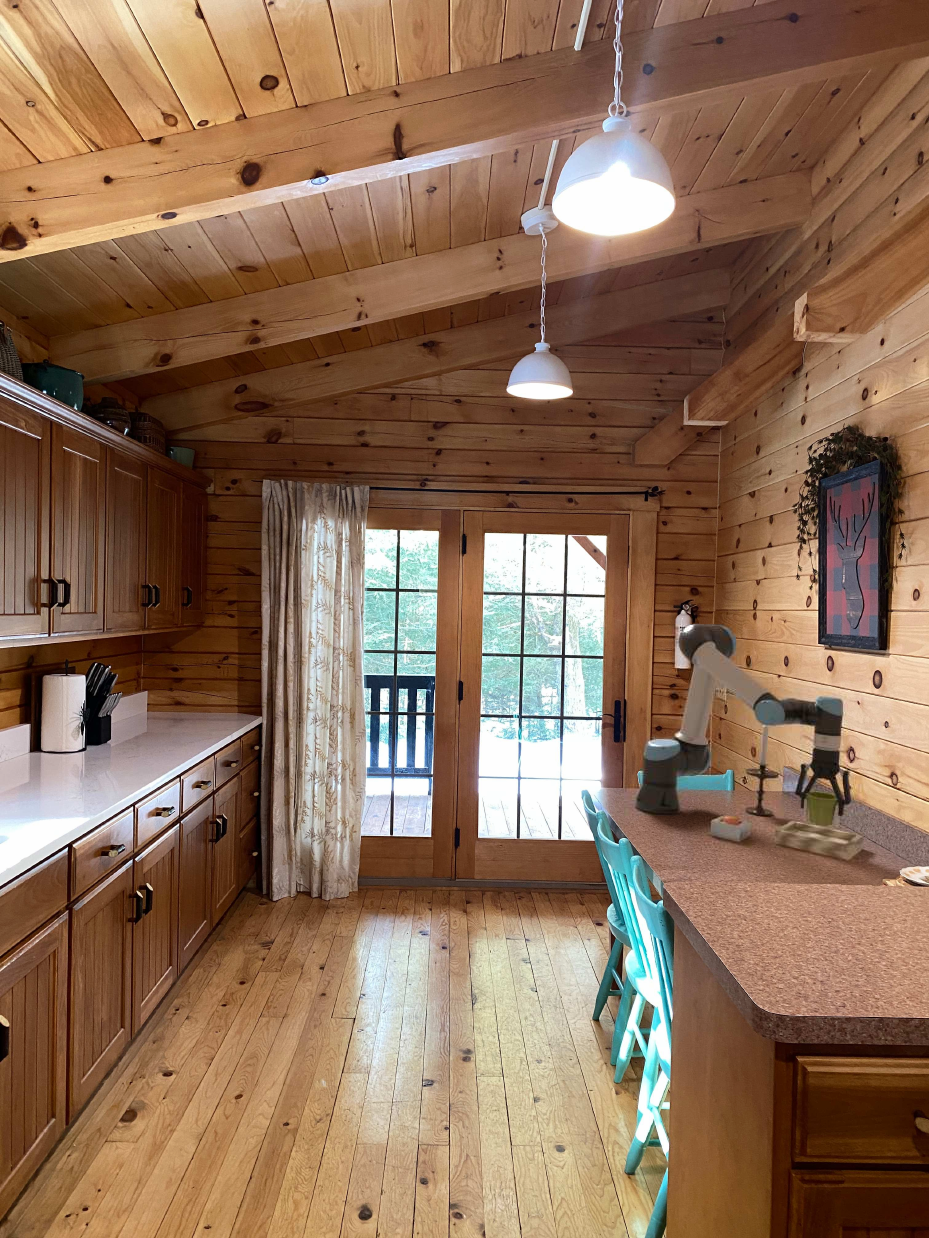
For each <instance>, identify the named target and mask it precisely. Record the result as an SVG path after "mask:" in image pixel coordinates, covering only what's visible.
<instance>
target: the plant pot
mask: <svg viewBox="0 0 929 1238" xmlns="http://www.w3.org/2000/svg"><path fill="white" fill-rule="evenodd" d="M806 795H807V798H808V801H809V813H808V815H809V822H810V823H811V824H814V825H815V824H816V826H820V827H828V826H832V825H833V820H834V817H835V808H836V805H837V804H838V801H837V800H838V799H837V798H836V796H835V794H833V793H828V792H823V791H822V792H821V791H810V792H809V793H808V794H807V793H806Z"/></svg>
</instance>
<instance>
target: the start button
mask: <svg viewBox="0 0 929 1238" xmlns="http://www.w3.org/2000/svg"><path fill="white" fill-rule="evenodd" d="M722 816H723V820H722V822H725V823H730V824H734V825H739V822H740V820H741V819H740V817H737V816H734V815H722Z"/></svg>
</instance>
